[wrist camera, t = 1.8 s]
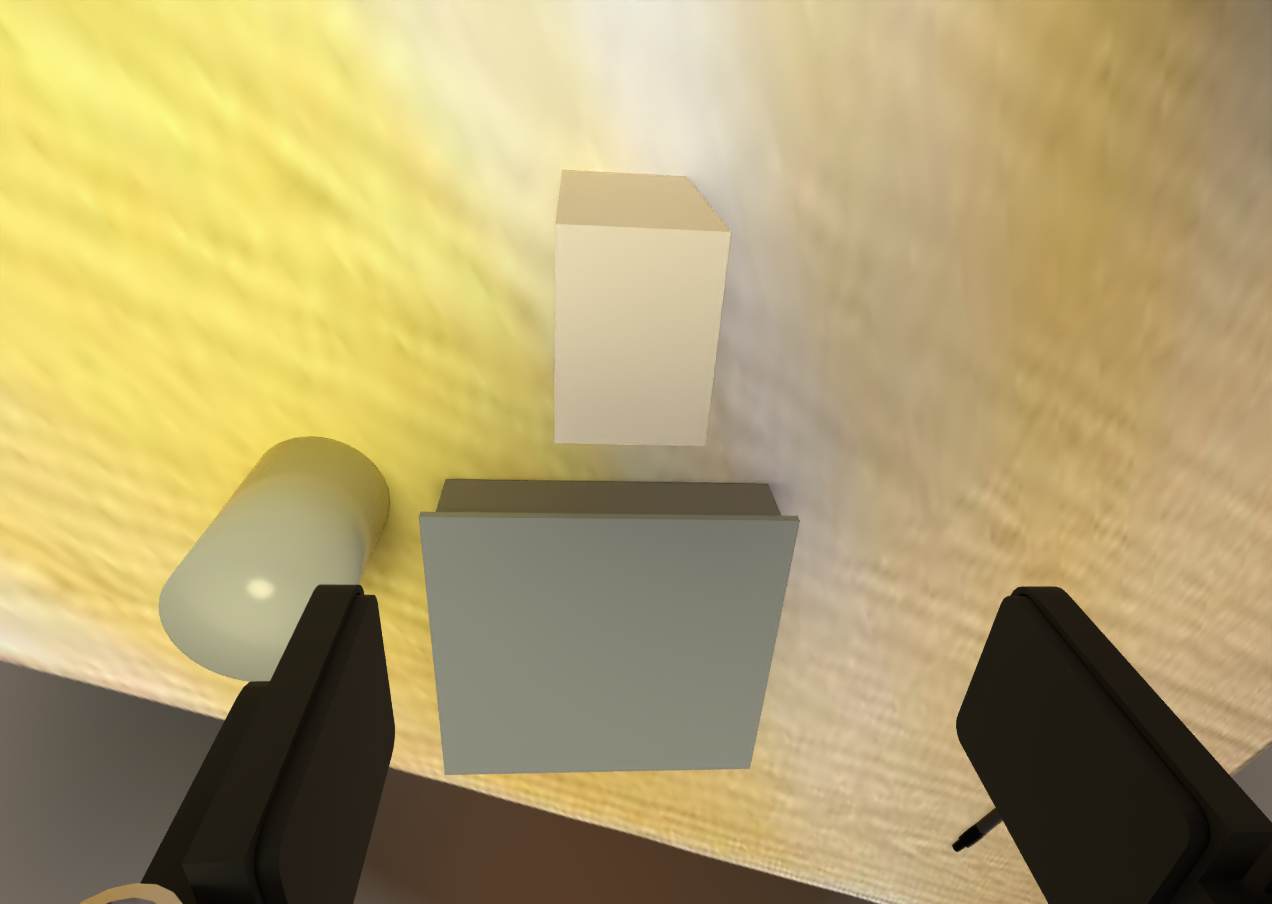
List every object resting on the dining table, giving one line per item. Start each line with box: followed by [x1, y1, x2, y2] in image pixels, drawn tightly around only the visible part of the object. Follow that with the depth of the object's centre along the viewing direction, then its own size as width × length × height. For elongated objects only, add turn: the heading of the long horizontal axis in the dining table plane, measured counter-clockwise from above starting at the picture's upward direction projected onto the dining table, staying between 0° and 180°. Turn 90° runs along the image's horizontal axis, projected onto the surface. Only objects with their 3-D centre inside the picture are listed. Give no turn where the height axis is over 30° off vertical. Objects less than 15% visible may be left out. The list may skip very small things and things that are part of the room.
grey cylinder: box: [159, 437, 390, 682], centre depth 32 cm, size 6×6×9 cm
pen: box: [953, 808, 1003, 852], centre depth 51 cm, size 14×2×1 cm, turn 149°
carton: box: [554, 170, 731, 446], centre depth 27 cm, size 5×7×10 cm
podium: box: [419, 479, 800, 775], centre depth 39 cm, size 17×17×4 cm
